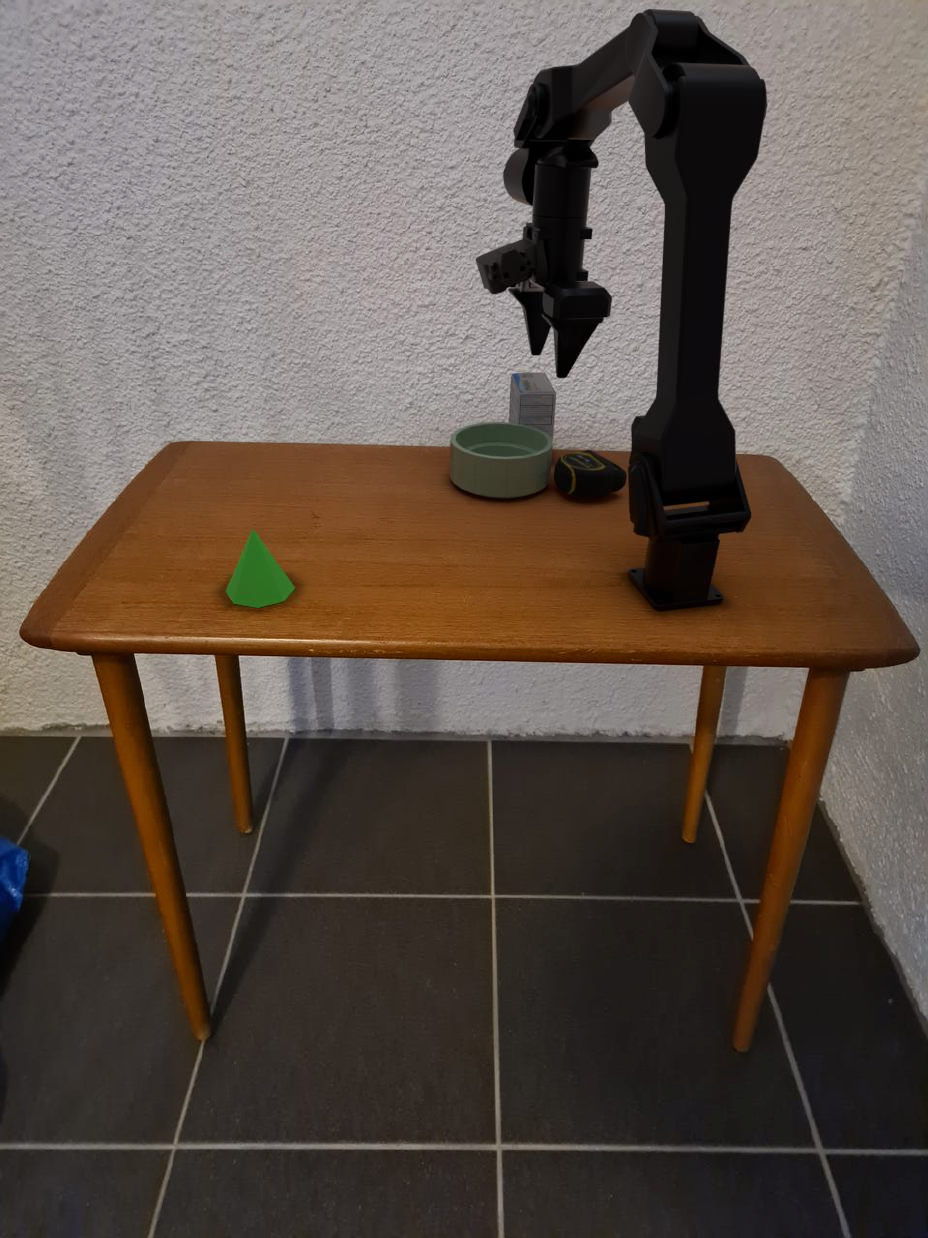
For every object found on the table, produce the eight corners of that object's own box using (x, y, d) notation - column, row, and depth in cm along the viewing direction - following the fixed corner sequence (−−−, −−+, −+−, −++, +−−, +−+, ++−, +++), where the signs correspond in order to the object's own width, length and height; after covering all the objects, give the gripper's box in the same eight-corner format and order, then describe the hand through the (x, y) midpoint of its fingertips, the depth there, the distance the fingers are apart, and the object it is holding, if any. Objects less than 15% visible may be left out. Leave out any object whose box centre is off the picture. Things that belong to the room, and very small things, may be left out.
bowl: (562, 498, 90) (567, 454, 87) (462, 506, 88) (464, 461, 85) (531, 459, 99) (534, 419, 96) (440, 466, 97) (440, 424, 94)
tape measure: (627, 498, 90) (631, 466, 88) (575, 509, 88) (579, 476, 86) (590, 475, 95) (594, 444, 93) (540, 485, 93) (543, 454, 91)
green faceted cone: (228, 574, 74) (219, 513, 71) (296, 571, 75) (290, 511, 72) (221, 609, 69) (211, 546, 66) (294, 606, 70) (287, 543, 67)
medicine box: (551, 464, 98) (558, 391, 93) (514, 464, 98) (518, 391, 93) (541, 440, 105) (547, 371, 100) (506, 440, 104) (510, 371, 100)
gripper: (463, 204, 92) (460, 347, 100) (510, 228, 77) (502, 394, 85) (558, 204, 94) (547, 343, 103) (622, 227, 79) (603, 389, 87)
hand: (548, 365), depth 94 cm, fingers open, 9 cm apart
